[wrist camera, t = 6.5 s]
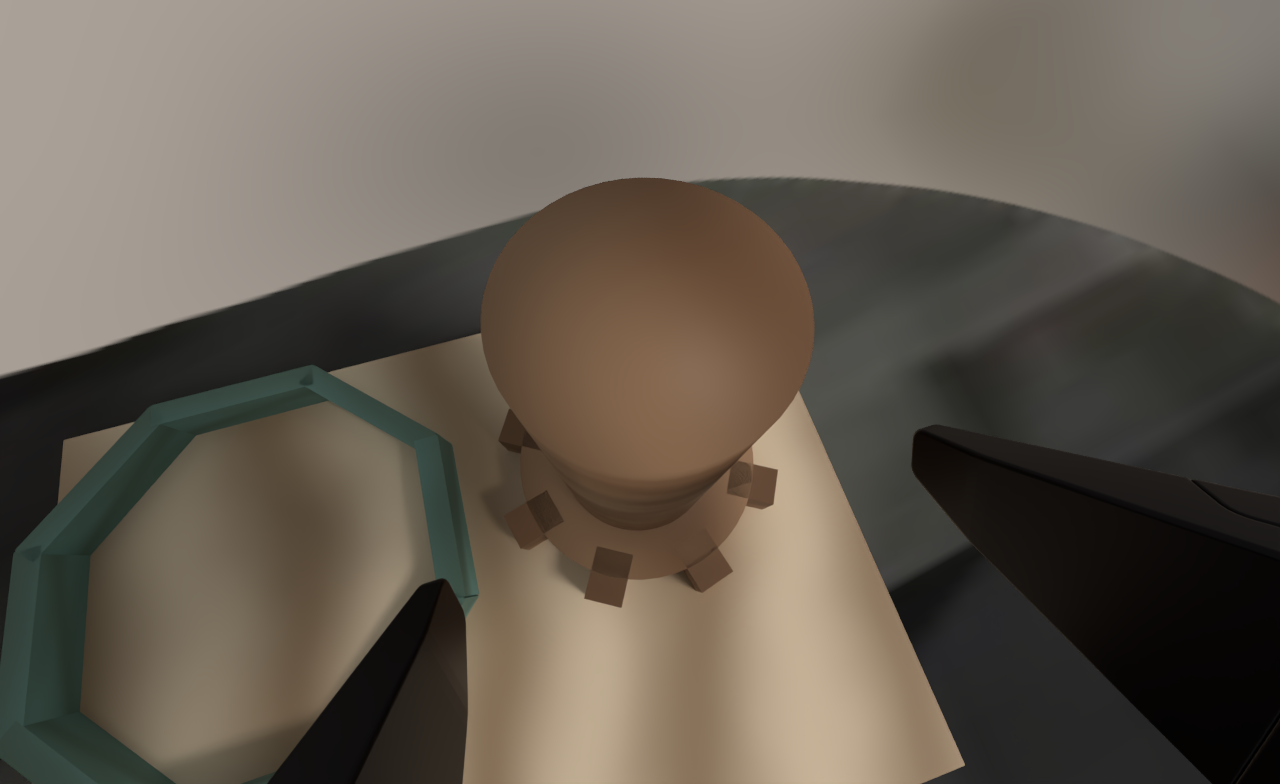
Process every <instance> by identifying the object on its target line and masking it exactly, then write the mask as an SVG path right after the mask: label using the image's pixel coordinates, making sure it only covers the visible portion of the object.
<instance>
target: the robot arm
mask: <svg viewBox="0 0 1280 784" xmlns="http://www.w3.org/2000/svg"><path fill="white" fill-rule="evenodd" d="M911 467H912V471H913V473H914V475H915V477H916V478H917V480H918V481H919V482H920V483H921V484H922V486H923V487H924V488H925V489H926V490H927V492H928V493H929V494H930V495H931V496H932V498H933V499H934V500H935V501H936V502H937V504H938V505H939V506H940V507H941V508H942V510H943V511H944V512H945V513H946V514H947V516H948V517H949V518H950V519H951V520H952V522H953V523H954V524H955V525H956V526H957V528H958V529H959V530H960V531H961V532H962V533H963V535H964V536H965V537H966V538H967V539H968V540H969V541H970V542H971V543H972V544H973V545H974V547H975V548H976V549H977V550H978V551H979V552H980V553H981V554H982V555H983V556H984V557H985V558H986V559H987V560H988V561H989V562H990V563H991V564H992V565H993V566H994V567H995V568H996V569H997V570H998V571H999V572H1000V573H1001V574H1002V575H1003V576H1004V577H1005V578H1006V579H1007V580H1008V581H1009V582H1010V583H1011V584H1012V585H1013V586H1014V587H1015V588H1016V589H1017V590H1018V591H1019V592H1020V593H1021V594H1022V595H1023V596H1024V597H1025V598H1026V599H1027V600H1028V601H1029V602H1030V603H1031V604H1032V605H1033V606H1034V607H1035V608H1036V609H1037V610H1038V611H1039V612H1040V613H1041V614H1042V615H1043V616H1044V617H1045V618H1046V619H1047V620H1048V621H1049V622H1050V623H1051V624H1052V625H1053V626H1054V627H1055V628H1056V629H1057V630H1058V631H1059V632H1060V633H1061V634H1062V635H1063V636H1064V637H1065V638H1066V639H1067V640H1068V641H1069V642H1070V643H1071V644H1072V645H1073V646H1074V647H1075V648H1077V649H1078V650H1079V651H1080V652H1081V653H1082V654H1083V655H1084V656H1085V657H1086V658H1087V659H1088V660H1089V661H1090V662H1091V663H1092V664H1093V665H1094V666H1095V667H1096V668H1097V669H1098V670H1099V671H1100V672H1101V673H1102V674H1103V675H1104V676H1105V677H1106V678H1107V679H1108V680H1109V681H1110V682H1111V683H1112V684H1113V685H1114V686H1115V687H1116V688H1117V689H1118V690H1119V691H1120V692H1121V693H1122V694H1123V695H1124V696H1125V697H1126V698H1127V699H1128V700H1129V701H1130V702H1131V703H1132V704H1133V705H1134V706H1135V707H1136V708H1137V709H1138V710H1139V711H1140V712H1141V713H1142V714H1143V715H1144V716H1145V717H1146V718H1147V719H1148V720H1149V721H1150V722H1151V723H1152V724H1153V725H1154V726H1155V727H1156V728H1157V729H1158V730H1159V731H1160V732H1161V733H1162V734H1163V735H1164V736H1165V737H1166V738H1167V739H1168V740H1169V741H1170V742H1171V743H1172V744H1173V745H1174V746H1175V747H1176V748H1177V749H1178V750H1179V751H1180V752H1181V753H1182V754H1183V755H1184V756H1185V757H1186V758H1187V759H1188V760H1189V761H1190V762H1191V763H1192V764H1193V765H1194V766H1195V767H1196V768H1197V769H1198V770H1199V771H1200V772H1201V773H1202V774H1203V775H1204V776H1205V777H1206V778H1207V779H1208V780H1209V781H1210V782H1211V783H1212V784H1280V497H1278V496H1273V495H1268V494H1263V493H1258V492H1253V491H1248V490H1243V489H1238V488H1234V487H1229V486H1224V485H1219V484H1215V483H1210V482H1205V481H1201V480H1196V479H1194V480H1190V479H1188V478H1186V477H1181V476H1177V475H1172V474H1167V473H1163V472H1158V471H1153V470H1148V469H1144V468H1139V467H1134V466H1130V465H1125V464H1120V463H1116V462H1111V461H1106V460H1102V459H1097V458H1092V457H1087V456H1083V455H1078V454H1073V453H1069V452H1064V451H1059V450H1055V449H1050V448H1045V447H1041V446H1036V445H1031V444H1026V443H1022V442H1017V441H1012V440H1008V439H1003V438H998V437H994V436H989V435H984V434H980V433H975V432H970V431H966V430H961V429H956V428H951V427H947V426H942V425H931V426H928V427H925V428H922V429H919V430H917V431H916V432H915V433H914V435H913V443H912V457H911ZM467 723H468V677H467V640H466V619H465V614H464V611H463V608H462V606H461V604H460V602H459V600H458V598H457V597H456V595H455V593H454V591H453V589H452V587H451V585H450V583H449V582H448V581H447V580H446V579H444V578H440V579H437V580H433V581H430V582H427V583H424V584H422V585H420V586H419V587H418V588H417V589H416V591H415V592H414V593H413V594H412V596H411V597H410V598H409V600H408V601H407V602H406V604H405V605H404V606H403V607H402V609H401V610H400V611H399V613H398V614H397V615H396V616H395V618H394V619H393V620H392V622H391V623H390V624H389V626H388V627H387V628H386V629H385V631H384V632H383V633H382V635H381V636H380V637H379V639H378V640H377V641H376V642H375V644H374V645H373V646H372V648H371V649H370V650H369V652H368V653H367V654H366V655H365V657H364V658H363V659H362V661H361V662H360V663H359V665H358V666H357V667H356V668H355V670H354V671H353V672H352V674H351V675H350V676H349V677H348V679H347V680H346V681H345V683H344V684H343V685H342V687H341V688H340V689H339V690H338V692H337V693H336V694H335V696H334V697H333V698H332V700H331V701H330V702H329V703H328V705H327V706H326V707H325V709H324V710H323V711H322V713H321V714H320V715H319V716H318V718H317V719H316V720H315V722H314V723H313V724H312V725H311V727H310V728H309V729H308V731H307V732H306V733H305V735H304V736H303V737H302V738H301V740H300V741H299V742H298V744H297V745H296V746H295V748H294V749H293V750H292V751H291V753H290V754H289V755H288V757H287V758H286V759H285V761H284V762H283V763H282V764H281V766H280V767H279V768H278V770H277V771H276V772H275V773H274V775H273V776H272V777H271V779H270V780H269V781H268V783H267V784H463V773H464V761H465V749H466V737H467Z"/></svg>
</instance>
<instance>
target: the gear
mask: <svg viewBox="0 0 1280 784" xmlns="http://www.w3.org/2000/svg"><path fill="white" fill-rule="evenodd" d="M481 337H482V344H483V351H484V355H485V358H486V361H487V365H488V368H489V371H490V373H491V376H492V378H493V380H494V382H495V384H496V386H497V388H498V390H499V392H500V393H501V395H502V396H503V398H504V399H505V401H506V402H507V404H508V405H509V407H510V408H511V409H509V410H508V413H507V416H506V419H505V422H504V425H503V428H502V431H501V433H500V436H499V439H498V441H499V442H500V443H501V444H502V445H503V446H504V447H505V448H506V449H507V450H508V451H512V452H516V453H520V454H521V457H520V472H521V480H522V487H523V491H524V495H525V498H526V501H527V502H526V503H524V504H522V505H521V506H519V507H518V508H516V509H514V510H513V511H511V512H509V513H508V514H506V515H504V518H505V520H506V522H507V524H508V526H509V528H510V529H511V531H512V533H513V535H514V537H515V539H516V541H517V543H518V545H519V547H520V549H525V550H531V549H532V548H534V547H536V546H537V545H539V544H540V543H542V542H543V541H545V540H547V539H549V540H550V542H551V543H552V544H553V545H554V546H555V547H556V548H557V549H559V550H560V551H561V552H562V553H563V554H564V555H565V556H567V557H568V558H570V559H571V560H573V561H574V562H576V563H577V564H579V565H581V566H583V567H585V568H587V569H589V570H591V573H590V577H589V581H588V585H587V589H586V593H585V597H584V599H587V600H591V601H595V602H599V603H603V604H607V605H611V606H615V607H619V608H622V604H623V599H624V595H625V590H626V586H627V581H628V579H632V580H645V579H654V578H660V577H664V576H668V575H672V574H675V573H678V572H680V571H683V570H684V572H685V574H686V575H687V577H688V579H689V580H690V582H691V583H692V585H693V587H694V588H695V590H696V591H698V592H701V593H703V592H705V591H706V590H707V589H709V588H710V587H712V586H713V585H715V584H716V583H717V582H719V581H720V580H722V579H723V578H724V577H726V576H727V575H729V574H730V573H732V572H733V570H732V568H731V567H730V565H729V564H728V562H727V561H726V559H725V558H724V556H723V555H722V553H721V552H720V550H719V548H718V547H719V546H720V545H721V544H722V543H723V542H724V541H725V540H726V539H727V538H728V536H729V535H730V533H731V532H732V531H733V529H734V528H735V526H736V525H737V523H738V521H739V519H740V517H741V516H742V514H743V512H744V509H745V507H746V506H748V507H752V508H757V509H761V510H762V509H765V508H767V507H769V506H771V505H773V504H774V497H775V489H776V481H777V474H778V470H777V469H773V468H768V467H764V466H759V465H755V464H753V450H752V445H753V444H754V443H755V442H756V441H757V440H758V439H759V438H760V437H761V436H762V435H763V434H764V433H765V432H766V431H767V430H768V429H769V428H770V427H771V426H772V425H773V424H774V423H775V422H776V421H777V420H778V419H779V418H780V417H781V416H782V415H783V413H784V412H785V411H786V409H787V408H788V407H789V405H790V404H791V403H792V401H793V400H794V398H795V396H796V394H797V392H798V391H799V389H800V387H801V385H802V383H803V381H804V378H805V375H806V372H807V370H808V367H809V364H810V360H811V354H812V349H813V344H814V316H813V306H812V302H811V298H810V294H809V290H808V286H807V284H806V281H805V279H804V276H803V274H802V271H801V269H800V267H799V265H798V264H797V262H796V260H795V258H794V257H793V255H792V253H791V252H790V250H789V249H788V248H787V246H786V245H785V244H784V242H783V241H782V240H781V238H780V237H779V236H778V235H777V234H776V233H775V232H774V231H773V230H772V229H771V228H770V227H769V226H768V225H767V224H766V223H765V222H764V221H763V220H761V219H760V218H759V217H758V216H756V215H755V214H754V213H753V212H751V211H750V210H748V209H747V208H745V207H744V206H742V205H741V204H739V203H737V202H736V201H734V200H732V199H730V198H728V197H726V196H724V195H722V194H720V193H718V192H715V191H712V190H710V189H707V188H704V187H701V186H698V185H694V184H690V183H686V182H682V181H676V180H669V179H662V178H629V179H619V180H614V181H608V182H602V183H599V184H595V185H592V186H589V187H585V188H583V189H580V190H578V191H575V192H573V193H570V194H568V195H566V196H564V197H562V198H560V199H558V200H556V201H555V202H553V203H551V204H549V205H548V206H546V207H545V208H544V209H542V210H541V211H539V212H538V213H537V214H535V215H534V216H533V217H532V218H531V219H529V220H528V221H527V222H526V223H525V224H524V225H523V226H522V227H521V228H520V229H519V230H518V231H517V232H516V233H515V235H514V236H513V237H512V238H511V239H510V240H509V242H508V243H507V244H506V246H505V248H504V249H503V251H502V252H501V254H500V255H499V257H498V258H497V260H496V263H495V265H494V267H493V269H492V271H491V273H490V275H489V279H488V282H487V285H486V288H485V291H484V296H483V302H482V309H481Z"/></svg>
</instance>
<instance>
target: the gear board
mask: <svg viewBox="0 0 1280 784" xmlns="http://www.w3.org/2000/svg"><path fill="white" fill-rule="evenodd" d="M509 409H511V408H510V407H509V405H508V404H507V402H506V401H505V399H504V398H503V396H502V395H501V393H500V392H499V390H498V388H497V386H496V384H495V382H494V380H493V378H492V376H491V373H490V371H489V368H488V365H487V361H486V358H485V355H484V351H483V344H482V337H481V333H480V334H476V335H472V336H468V337H464V338H460V339H456V340H452V341H448V342H444V343H441V344H437V345H433V346H429V347H425V348H421V349H417V350H413V351H409V352H405V353H402V354H398V355H394V356H390V357H386V358H382V359H378V360H374V361H370V362H366V363H363V364H359V365H355V366H351V367H347V368H343V369H339V370H335V371H331V372H326V371H324V370H322V369H320V368H318V367H317V366H315V365H308V366H304V367H300V368H296V369H293V370H289V371H285V372H281V373H277V374H273V375H269V376H265V377H261V378H257V379H253V380H249V381H245V382H241V383H237V384H233V385H229V386H226V387H222V388H218V389H214V390H210V391H206V392H202V393H198V394H194V395H190V396H186V397H182V398H178V399H174V400H170V401H166V402H162V403H158V404H155V405H151V407H150V406H149V407H148V408H147V409H146V411H145V412H144V413H143V414H142V415H141V416H140V417H139V418H138V419H137V420H136V421H135V422H132V423H129V424H125V425H121V426H117V427H113V428H109V429H105V430H101V431H97V432H93V433H90V434H86V435H82V436H78V437H74V438H70V439H66V440H64V442H63V452H62V463H61V474H60V485H59V495H58V505H57V506H56V507H55V508H54V509H53V510H52V511H51V512H50V513H49V514H48V515H47V516H46V517H45V518H44V520H43V521H42V522H41V523H40V524H39V525H38V526H37V527H36V528H35V529H34V530H33V531H32V532H31V533H30V534H29V536H28V537H27V538H26V539H25V540H24V541H23V542H22V543H21V544H20V545H19V546H18V547H17V548H16V549H15V551H16V552H14V553H13V561H12V569H11V578H10V586H9V594H8V603H7V611H6V619H5V628H4V636H3V645H2V653H1V661H0V758H1V759H2V760H3V761H5V762H6V763H7V764H8V765H10V766H11V767H12V768H13V769H15V770H16V771H17V772H19V773H20V774H21V775H22V776H24V777H25V778H26V779H27V780H29V781H30V782H31V783H32V784H267V783H268V781H269V780H270V779H271V777H272V776H273V775H274V773H275V772H276V771H277V770H278V768H279V767H280V766H281V764H282V763H283V762H284V761H285V759H286V758H287V757H288V755H289V754H290V753H291V751H292V750H293V749H294V748H295V746H296V745H297V744H298V742H299V741H300V740H301V738H302V737H303V736H304V735H305V733H306V732H307V731H308V729H309V728H310V727H311V725H312V724H313V723H314V722H315V720H316V719H317V718H318V716H319V715H320V714H321V713H322V711H323V710H324V709H325V707H326V706H327V705H328V703H329V702H330V701H331V700H332V698H333V697H334V696H335V694H336V693H337V692H338V690H339V689H340V688H341V687H342V685H343V684H344V683H345V681H346V680H347V679H348V677H349V676H350V675H351V674H352V672H353V671H354V670H355V668H356V667H357V666H358V665H359V663H360V662H361V661H362V659H363V658H364V657H365V655H366V654H367V653H368V652H369V650H370V649H371V648H372V646H373V645H374V644H375V642H376V641H377V640H378V639H379V637H380V636H381V635H382V633H383V632H384V631H385V629H386V628H387V627H388V626H389V624H390V623H391V622H392V620H393V619H394V618H395V616H396V615H397V614H398V613H399V611H400V610H401V609H402V607H403V606H404V605H405V604H406V602H407V601H408V600H409V598H410V597H411V596H412V594H413V593H414V592H415V591H416V589H417V588H418V587H419V586H420V585H422V584H424V583H427V582H430V581H433V580H437V579H440V578H444V579H446V580H447V581H448V582H449V583H450V585H451V587H452V589H453V591H454V593H455V595H456V597H457V598H458V600H459V602H460V604H461V606H462V608H463V611H464V614H465V619H466V640H467V677H468V723H467V737H466V749H465V761H464V773H463V784H921V783H924V782H926V781H928V780H931V779H933V778H936V777H938V776H941V775H943V774H945V773H948V772H950V771H953V770H955V769H957V768H960V767H962V766H965V764H964V762H963V759H962V757H961V755H960V753H959V750H958V748H957V746H956V744H955V741H954V739H953V737H952V735H951V732H950V730H949V728H948V726H947V723H946V721H945V719H944V717H943V714H942V712H941V710H940V708H939V705H938V703H937V701H936V699H935V696H934V694H933V692H932V690H931V687H930V685H929V683H928V681H927V678H926V676H925V674H924V672H923V669H922V667H921V665H920V663H919V660H918V658H917V656H916V654H915V651H914V649H913V647H912V645H911V642H910V640H909V638H908V636H907V633H906V631H905V629H904V627H903V624H902V622H901V620H900V618H899V615H898V613H897V611H896V609H895V606H894V604H893V602H892V600H891V597H890V595H889V593H888V591H887V588H886V586H885V584H884V582H883V579H882V577H881V575H880V573H879V570H878V568H877V566H876V564H875V561H874V559H873V557H872V555H871V552H870V550H869V548H868V546H867V543H866V541H865V539H864V537H863V534H862V532H861V530H860V528H859V525H858V523H857V521H856V519H855V516H854V514H853V512H852V510H851V507H850V505H849V503H848V501H847V498H846V496H845V494H844V492H843V489H842V487H841V485H840V483H839V480H838V478H837V476H836V474H835V471H834V469H833V467H832V465H831V462H830V460H829V458H828V456H827V453H826V451H825V449H824V447H823V444H822V442H821V440H820V438H819V435H818V433H817V431H816V429H815V426H814V424H813V422H812V420H811V417H810V415H809V413H808V411H807V408H806V406H805V404H804V402H803V399H802V397H801V395H800V393H799V391H798V392H797V394H796V396H795V398H794V400H793V401H792V403H791V404H790V405H789V407H788V408H787V409H786V411H785V412H784V413H783V415H782V416H781V417H780V418H779V419H778V420H777V421H776V422H775V423H774V424H773V425H772V426H771V427H770V428H769V429H768V430H767V431H766V432H765V433H764V434H763V435H762V436H761V437H760V438H759V439H758V440H757V441H756V442H755V443H754V444H753V445H752V450H753V464H755V465H759V466H764V467H768V468H773V469H777V470H778V474H777V481H776V489H775V497H774V504H773V505H771V506H769V507H767V508H765V509H762V510H761V509H757V508H752V507H748V506H746V507H745V509H744V512H743V514H742V516H741V517H740V519H739V521H738V523H737V525H736V526H735V528H734V529H733V531H732V532H731V533H730V535H729V536H728V538H727V539H726V540H725V541H724V542H723V543H722V544H721V545H720V546H719V547H718V548H719V550H720V552H721V553H722V555H723V556H724V558H725V559H726V561H727V562H728V564H729V565H730V567H731V568H732V570H733V572H732V573H730V574H729V575H727V576H726V577H724V578H723V579H722V580H720V581H719V582H717V583H716V584H715V585H713V586H712V587H710V588H709V589H707V590H706V591H705V592H703V593H701V592H698V591H696V590H695V588H694V587H693V585H692V583H691V582H690V580H689V579H688V577H687V575H686V574H685V572H684V570H683V571H680V572H678V573H675V574H672V575H668V576H664V577H660V578H654V579H645V580H632V579H628V581H627V586H626V590H625V595H624V599H623V604H622V608H619V607H615V606H611V605H607V604H603V603H599V602H595V601H591V600H587V599H584V597H585V593H586V589H587V585H588V581H589V577H590V573H591V570H589V569H587V568H585V567H583V566H581V565H579V564H577V563H576V562H574V561H573V560H571V559H570V558H568V557H567V556H565V555H564V554H563V553H562V552H561V551H560V550H559V549H557V548H556V547H555V546H554V545H553V544H552V543H551V542H550V540H549V539H547V540H545V541H543V542H542V543H540V544H539V545H537V546H536V547H534V548H532V549H531V550H525V549H520V547H519V545H518V543H517V541H516V539H515V537H514V535H513V533H512V531H511V529H510V528H509V526H508V524H507V522H506V520H505V518H504V515H506V514H508V513H509V512H511V511H513V510H514V509H516V508H518V507H519V506H521V505H522V504H524V503H526V502H527V501H526V498H525V495H524V491H523V487H522V480H521V472H520V457H521V454H520V453H516V452H512V451H508V450H507V449H506V448H505V447H504V446H503V445H502V444H501V443H500V442H499V441H498V439H499V436H500V433H501V431H502V428H503V425H504V422H505V419H506V416H507V413H508V410H509Z"/></svg>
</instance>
